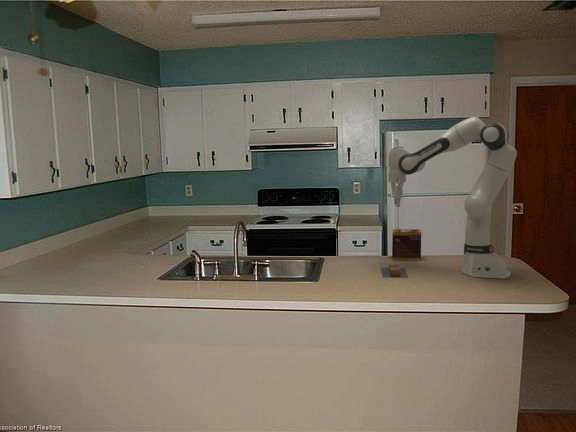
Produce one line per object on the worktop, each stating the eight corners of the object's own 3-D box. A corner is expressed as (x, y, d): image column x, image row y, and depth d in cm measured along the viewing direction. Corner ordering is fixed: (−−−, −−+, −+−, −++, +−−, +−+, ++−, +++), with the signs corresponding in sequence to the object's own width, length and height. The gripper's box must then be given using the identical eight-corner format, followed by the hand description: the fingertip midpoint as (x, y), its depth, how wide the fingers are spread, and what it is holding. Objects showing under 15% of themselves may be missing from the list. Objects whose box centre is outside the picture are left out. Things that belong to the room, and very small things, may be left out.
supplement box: (421, 260, 279) (421, 232, 277) (392, 260, 282) (392, 232, 280) (420, 256, 289) (420, 229, 287) (392, 256, 292) (392, 228, 290)
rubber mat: (380, 268, 265) (380, 267, 265) (404, 268, 263) (404, 267, 263) (382, 278, 245) (382, 277, 245) (408, 278, 244) (408, 277, 244)
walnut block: (389, 264, 256) (390, 269, 246) (398, 264, 255) (400, 269, 245) (389, 271, 256) (390, 276, 246) (398, 271, 256) (400, 276, 246)
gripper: (405, 180, 255) (405, 208, 257) (401, 177, 275) (401, 203, 277) (392, 180, 256) (392, 208, 257) (389, 177, 276) (389, 203, 278)
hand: (397, 205), depth 267 cm, fingers open, 8 cm apart
